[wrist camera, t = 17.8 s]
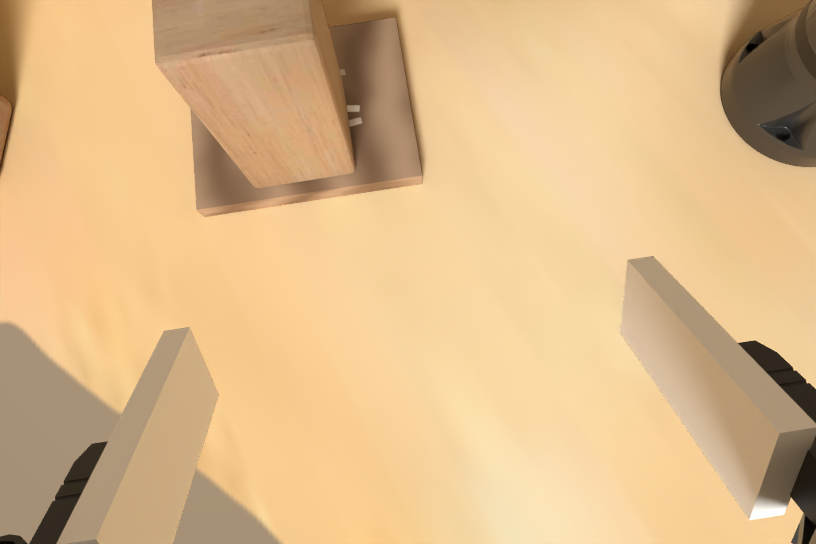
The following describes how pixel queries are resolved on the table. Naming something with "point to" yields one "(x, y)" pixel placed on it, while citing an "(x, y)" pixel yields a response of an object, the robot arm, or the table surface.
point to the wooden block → (260, 83)
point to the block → (4, 121)
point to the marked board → (369, 126)
